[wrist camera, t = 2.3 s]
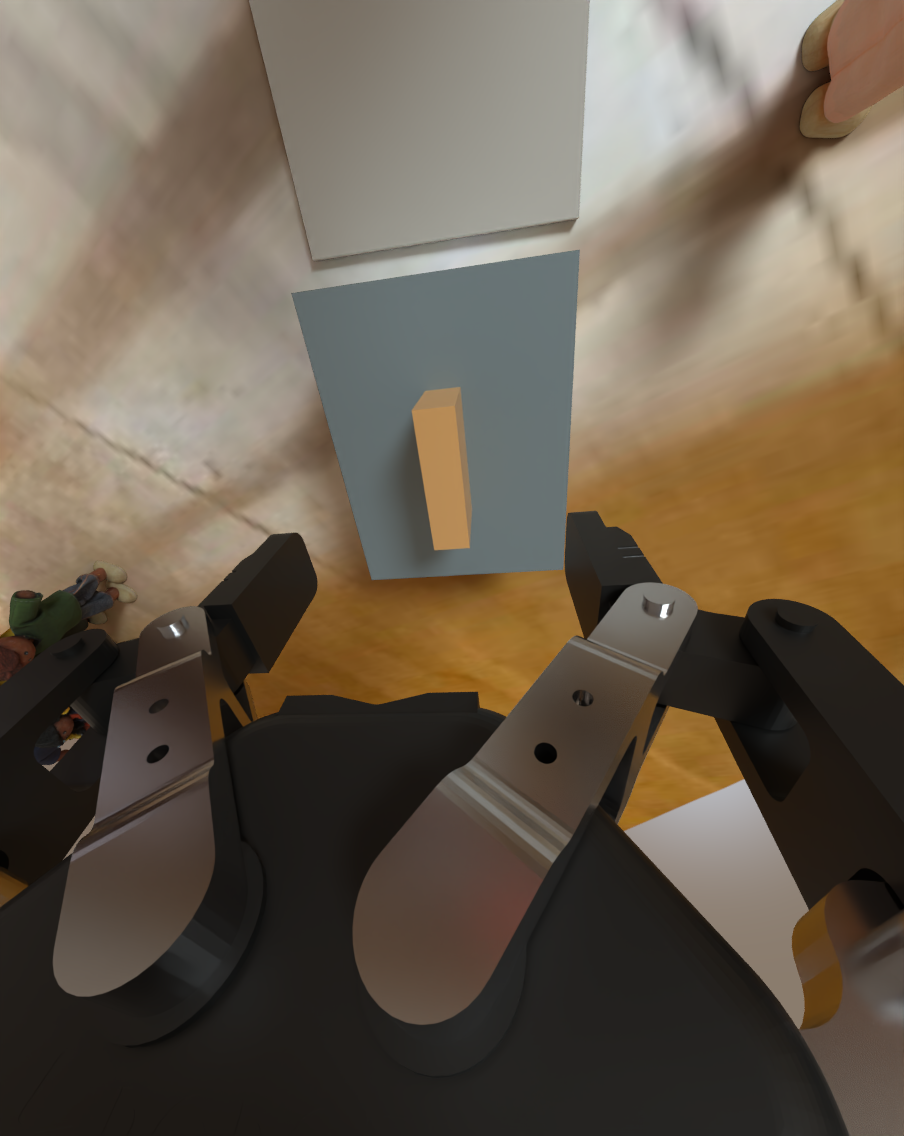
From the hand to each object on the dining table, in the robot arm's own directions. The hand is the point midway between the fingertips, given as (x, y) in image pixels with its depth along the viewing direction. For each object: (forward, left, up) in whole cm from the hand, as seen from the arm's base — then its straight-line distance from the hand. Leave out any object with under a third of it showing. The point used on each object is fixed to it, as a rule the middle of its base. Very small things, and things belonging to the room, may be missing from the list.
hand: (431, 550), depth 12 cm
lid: (0, 0, -11) cm, 11 cm away
